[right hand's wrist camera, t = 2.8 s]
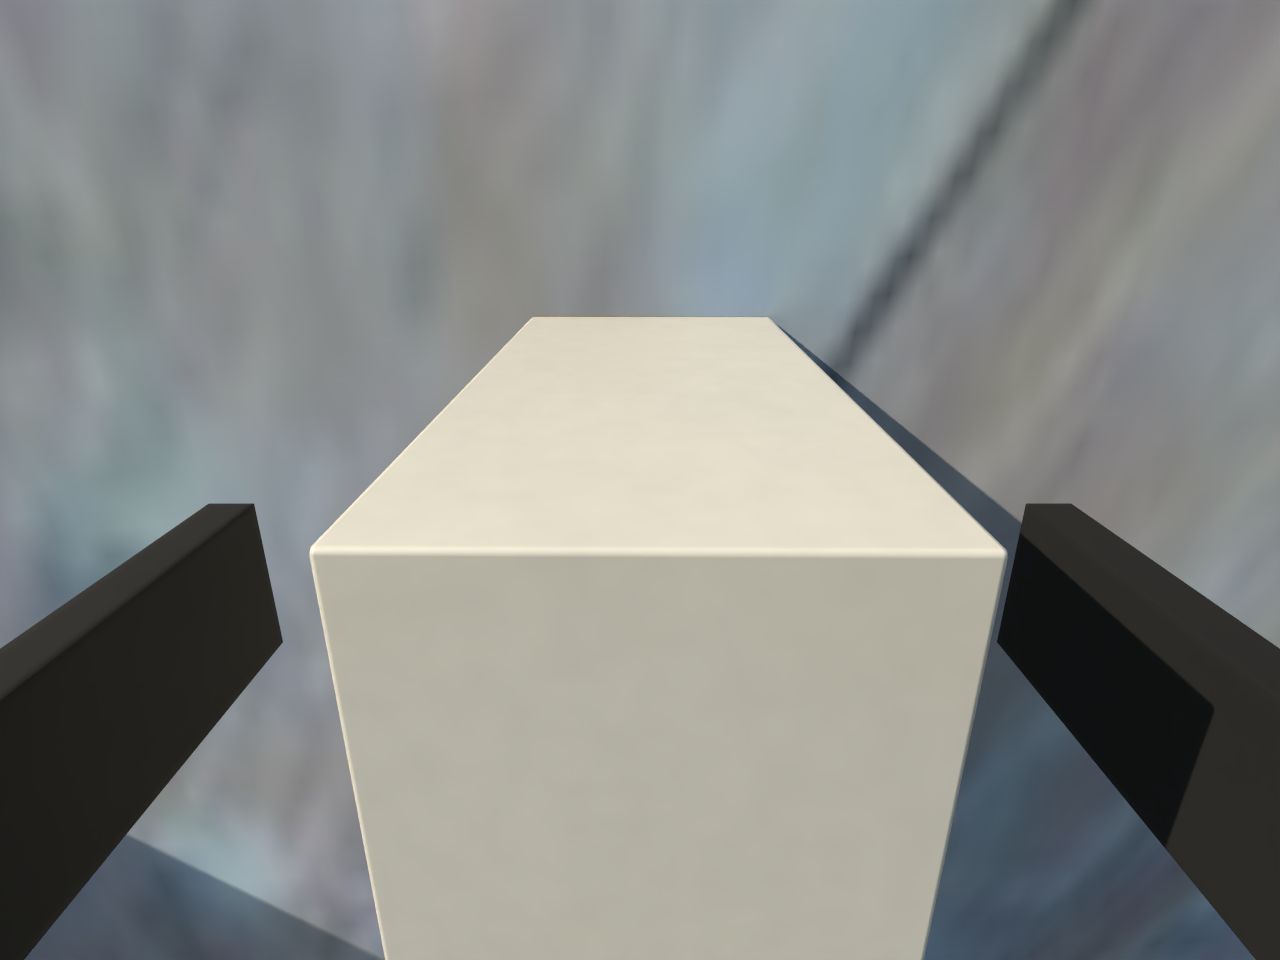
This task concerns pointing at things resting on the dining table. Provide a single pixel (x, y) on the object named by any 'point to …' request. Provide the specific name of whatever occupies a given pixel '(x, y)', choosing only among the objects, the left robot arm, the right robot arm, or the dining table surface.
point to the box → (656, 658)
